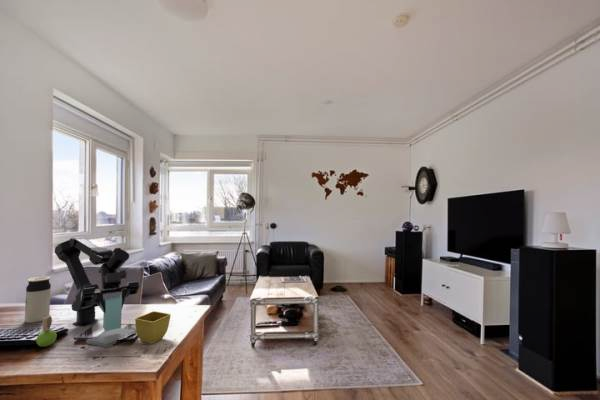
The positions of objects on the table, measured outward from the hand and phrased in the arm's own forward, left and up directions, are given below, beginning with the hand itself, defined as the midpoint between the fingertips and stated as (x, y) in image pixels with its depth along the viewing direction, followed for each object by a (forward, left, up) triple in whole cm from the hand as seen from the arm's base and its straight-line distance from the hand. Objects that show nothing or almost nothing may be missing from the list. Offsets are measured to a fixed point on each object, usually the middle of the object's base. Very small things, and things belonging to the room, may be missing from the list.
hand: (113, 310), depth 107 cm
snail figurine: (-17, -11, -11) cm, 23 cm away
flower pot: (+15, +4, -11) cm, 19 cm away
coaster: (-1, +1, -11) cm, 11 cm away
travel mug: (-48, +5, -11) cm, 50 cm away
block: (-1, +1, -7) cm, 7 cm away
